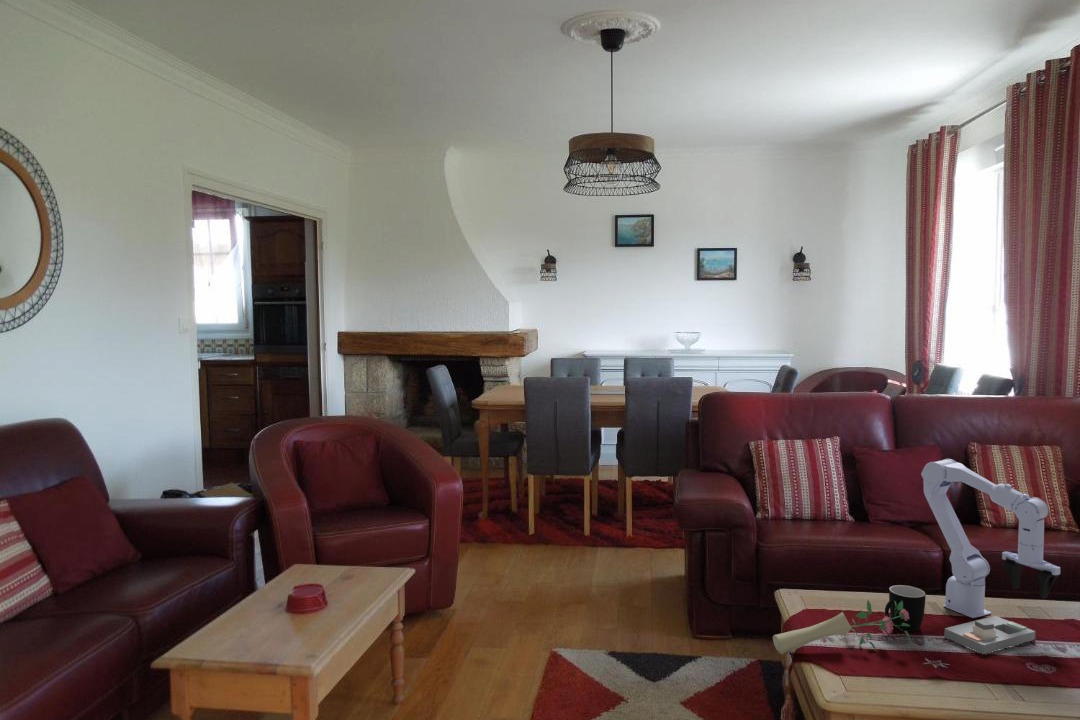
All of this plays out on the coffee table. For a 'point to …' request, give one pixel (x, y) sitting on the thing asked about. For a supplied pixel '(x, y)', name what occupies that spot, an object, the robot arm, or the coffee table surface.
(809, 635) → the flower vase
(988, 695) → the coffee table surface
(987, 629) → the plug
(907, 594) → the mug
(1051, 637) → the coffee table surface
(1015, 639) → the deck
